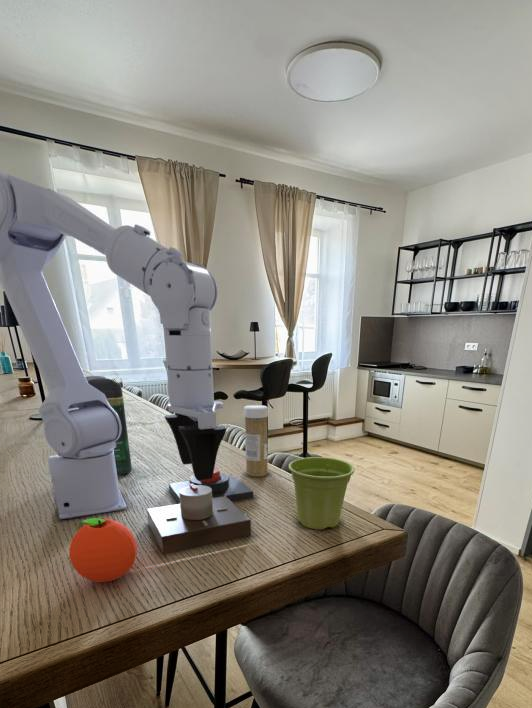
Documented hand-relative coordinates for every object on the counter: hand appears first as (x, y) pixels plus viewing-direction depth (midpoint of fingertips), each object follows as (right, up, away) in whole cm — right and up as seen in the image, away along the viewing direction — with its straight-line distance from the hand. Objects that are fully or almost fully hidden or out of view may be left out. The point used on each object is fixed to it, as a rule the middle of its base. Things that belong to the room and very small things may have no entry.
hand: (196, 470), depth 57 cm
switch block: (-1, -3, +14) cm, 15 cm away
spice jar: (+7, +1, +25) cm, 26 cm away
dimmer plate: (0, -8, +1) cm, 8 cm away
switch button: (-1, -1, +13) cm, 13 cm away
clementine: (-8, -13, -10) cm, 19 cm away
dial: (0, -6, 0) cm, 6 cm away
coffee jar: (-23, +1, +26) cm, 34 cm away
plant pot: (+17, -8, +4) cm, 19 cm away
